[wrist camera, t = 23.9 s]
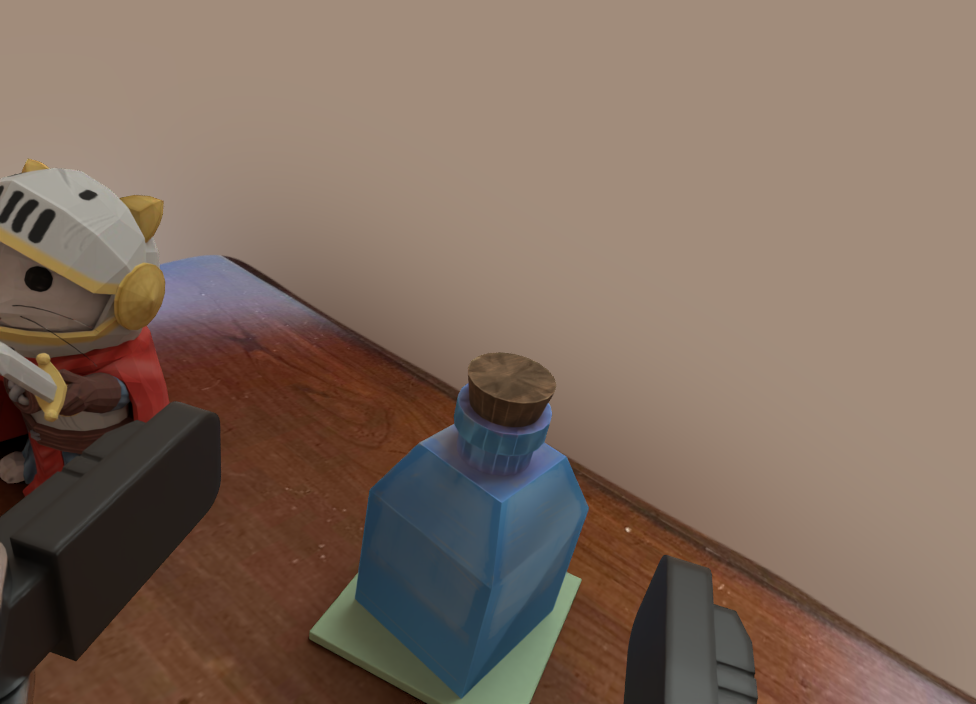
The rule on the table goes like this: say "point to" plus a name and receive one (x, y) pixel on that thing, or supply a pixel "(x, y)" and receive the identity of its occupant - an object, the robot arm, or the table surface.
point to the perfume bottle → (474, 527)
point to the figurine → (74, 316)
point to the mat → (375, 649)
